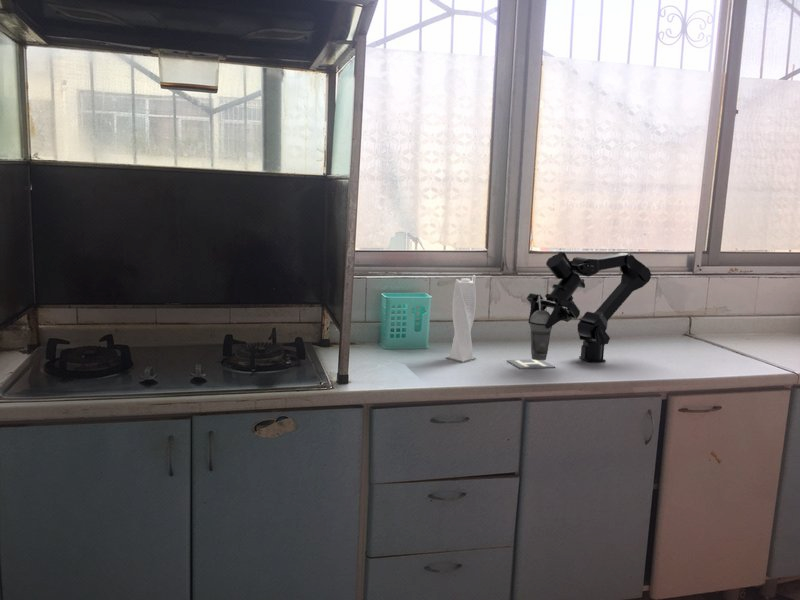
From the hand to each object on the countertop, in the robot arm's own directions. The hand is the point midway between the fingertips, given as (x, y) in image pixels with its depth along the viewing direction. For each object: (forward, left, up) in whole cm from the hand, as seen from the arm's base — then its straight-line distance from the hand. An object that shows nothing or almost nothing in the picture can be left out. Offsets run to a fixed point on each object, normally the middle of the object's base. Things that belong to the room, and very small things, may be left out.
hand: (537, 325), depth 214 cm
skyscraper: (+20, -13, -14) cm, 27 cm away
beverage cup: (-1, 0, -11) cm, 11 cm away
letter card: (0, -4, -13) cm, 14 cm away
